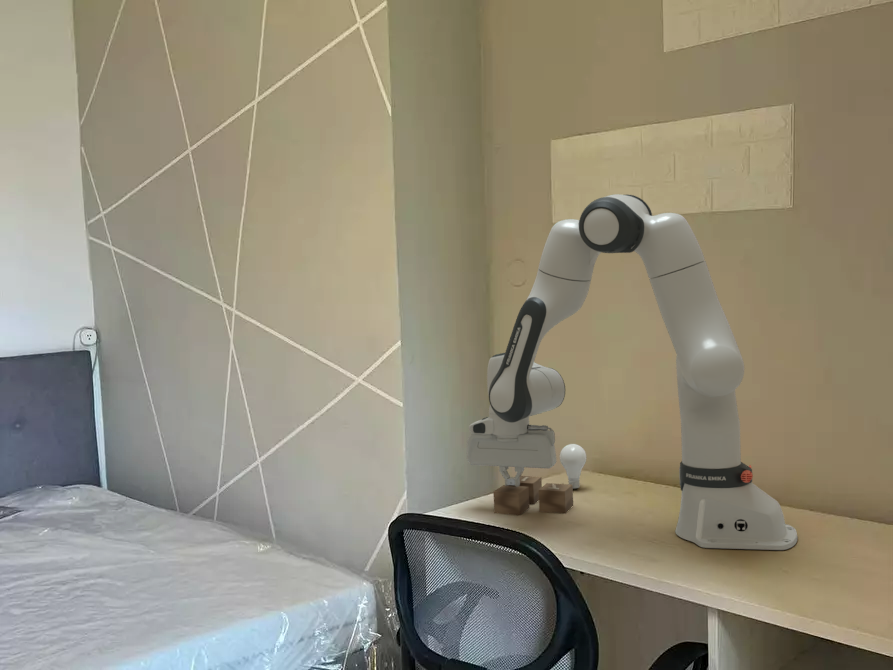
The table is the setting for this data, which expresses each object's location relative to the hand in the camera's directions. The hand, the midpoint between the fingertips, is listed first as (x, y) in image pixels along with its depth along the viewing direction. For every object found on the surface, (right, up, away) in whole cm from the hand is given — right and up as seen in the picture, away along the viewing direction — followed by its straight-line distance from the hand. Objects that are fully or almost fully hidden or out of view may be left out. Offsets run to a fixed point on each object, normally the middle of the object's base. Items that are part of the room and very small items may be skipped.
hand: (512, 485), depth 196 cm
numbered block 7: (+10, -5, 0) cm, 11 cm away
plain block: (0, -6, 0) cm, 6 cm away
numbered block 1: (+4, -5, +9) cm, 10 cm away
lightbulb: (+16, -4, +16) cm, 23 cm away
